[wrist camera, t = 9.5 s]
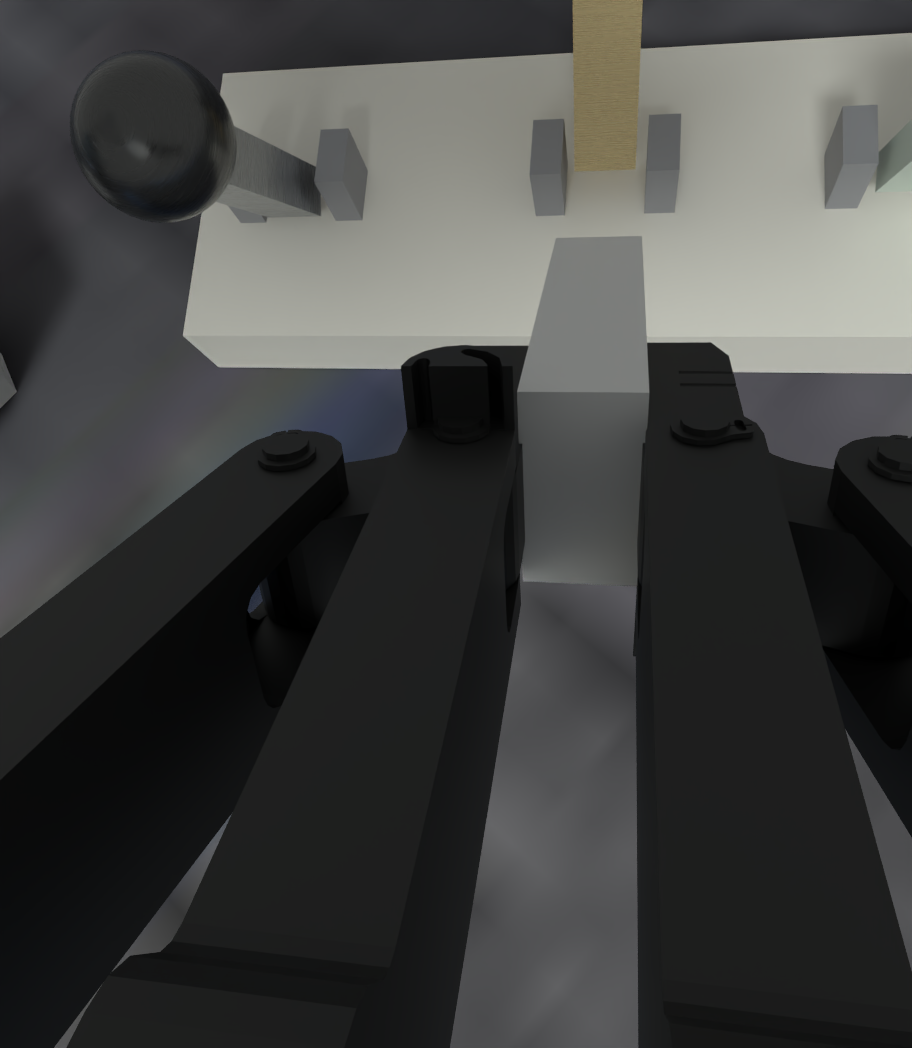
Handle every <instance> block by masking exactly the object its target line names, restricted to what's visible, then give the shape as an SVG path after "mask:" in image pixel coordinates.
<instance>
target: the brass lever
mask: <svg viewBox="0 0 912 1048" xmlns="http://www.w3.org/2000/svg"><path fill="white" fill-rule="evenodd" d="M642 6H643V0H573V79H574V172H580V171H610V170H636V150H637V126H638V102H639V78H640V54H641V30H642Z"/></svg>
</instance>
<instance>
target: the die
mask: <svg viewBox="0 0 912 1048" xmlns="http://www.w3.org/2000/svg"><path fill="white" fill-rule="evenodd" d="M16 392H17V391H16V389H15V386H14V384H13V381H12V379H11V376H10V374H9V371H8V369H7V366H6V364H5V361H4V359H3V356H2V354H1V353H0V408H1V407H2V406H3V405H4V404H5V403H6V402H7V401H8V400H9V399H10V398H11V397H12V396H13V395H14V394H15V393H16Z"/></svg>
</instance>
